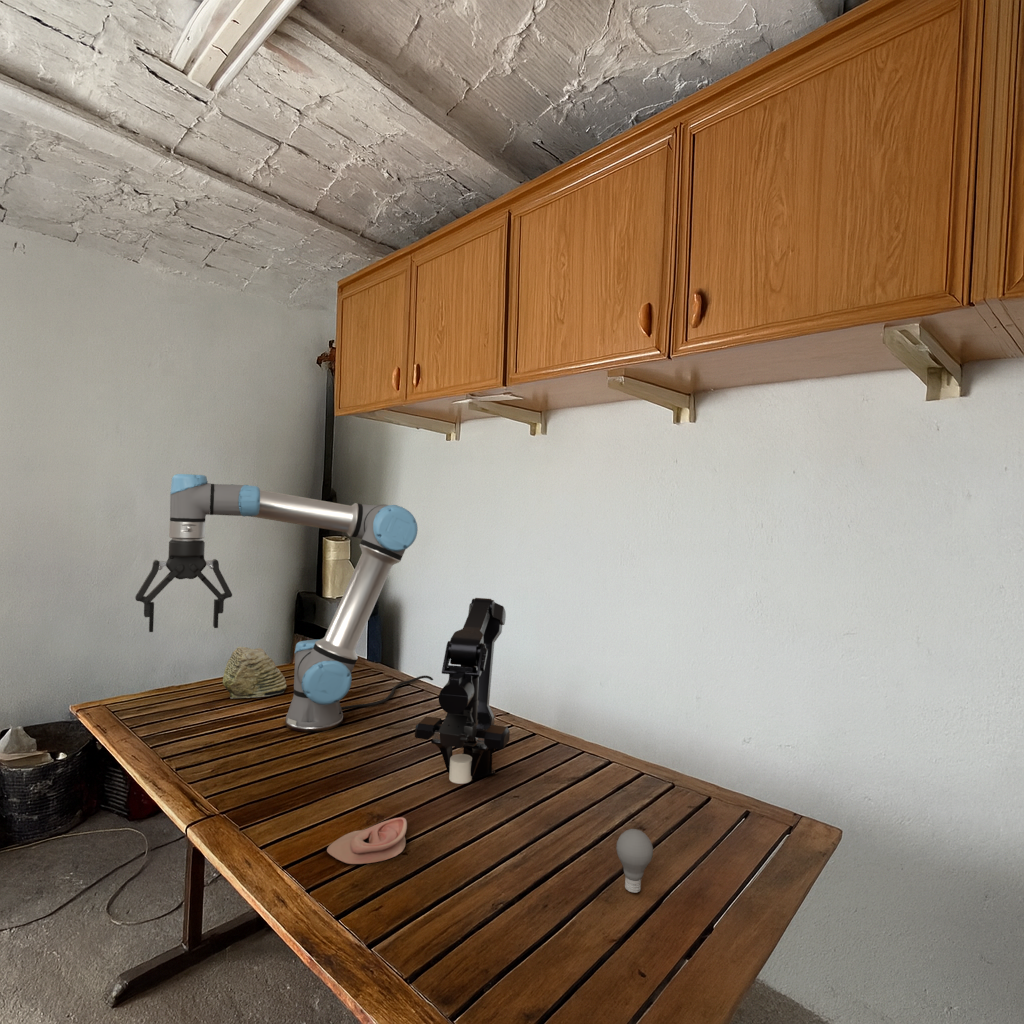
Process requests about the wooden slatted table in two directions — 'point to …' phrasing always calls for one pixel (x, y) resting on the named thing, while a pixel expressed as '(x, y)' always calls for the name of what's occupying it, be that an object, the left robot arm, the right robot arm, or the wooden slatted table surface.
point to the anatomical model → (371, 843)
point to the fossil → (252, 674)
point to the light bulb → (634, 857)
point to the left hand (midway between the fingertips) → (184, 629)
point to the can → (460, 768)
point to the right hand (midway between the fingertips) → (460, 773)
